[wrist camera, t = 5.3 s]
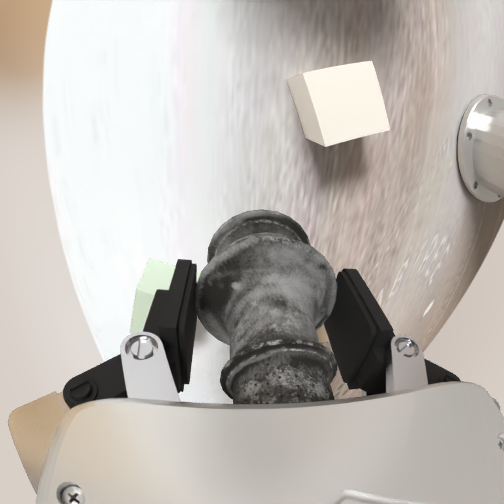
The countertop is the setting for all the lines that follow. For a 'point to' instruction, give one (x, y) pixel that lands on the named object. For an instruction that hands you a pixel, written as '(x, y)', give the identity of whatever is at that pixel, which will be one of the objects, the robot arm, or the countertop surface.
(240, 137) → the countertop surface
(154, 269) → the sage painted cube
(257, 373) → the salt shaker
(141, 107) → the countertop surface
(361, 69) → the cream painted cube
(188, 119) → the countertop surface
